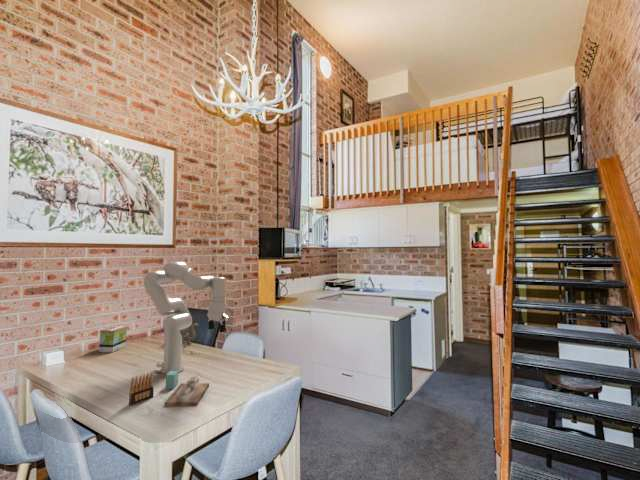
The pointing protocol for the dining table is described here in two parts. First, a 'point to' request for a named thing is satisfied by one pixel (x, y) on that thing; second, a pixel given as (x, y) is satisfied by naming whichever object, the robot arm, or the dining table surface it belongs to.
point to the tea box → (112, 338)
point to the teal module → (171, 379)
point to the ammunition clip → (141, 389)
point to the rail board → (192, 399)
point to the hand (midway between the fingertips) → (216, 330)
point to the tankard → (185, 334)
